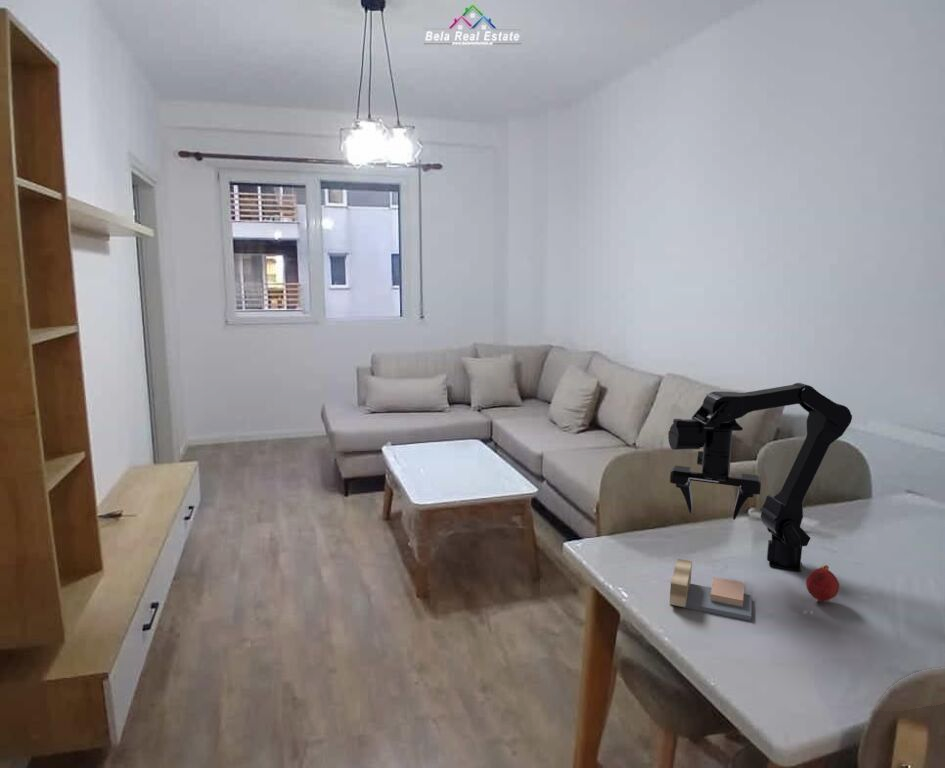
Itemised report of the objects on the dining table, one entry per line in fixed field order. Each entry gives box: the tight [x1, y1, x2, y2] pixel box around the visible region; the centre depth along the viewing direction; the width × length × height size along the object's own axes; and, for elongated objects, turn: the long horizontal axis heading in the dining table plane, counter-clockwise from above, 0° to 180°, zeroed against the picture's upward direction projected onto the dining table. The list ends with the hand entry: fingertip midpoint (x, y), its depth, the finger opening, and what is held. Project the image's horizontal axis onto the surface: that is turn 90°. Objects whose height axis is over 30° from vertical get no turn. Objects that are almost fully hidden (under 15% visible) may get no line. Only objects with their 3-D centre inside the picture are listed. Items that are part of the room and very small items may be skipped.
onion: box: [805, 564, 840, 603], centre depth 128 cm, size 6×6×8 cm
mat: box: [669, 583, 753, 622], centre depth 128 cm, size 15×9×1 cm, turn 66°
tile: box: [710, 576, 745, 607], centre depth 128 cm, size 6×2×8 cm
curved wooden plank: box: [669, 558, 693, 608], centre depth 129 cm, size 12×3×4 cm, turn 156°
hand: (712, 515), depth 142 cm, fingers open, 9 cm apart
